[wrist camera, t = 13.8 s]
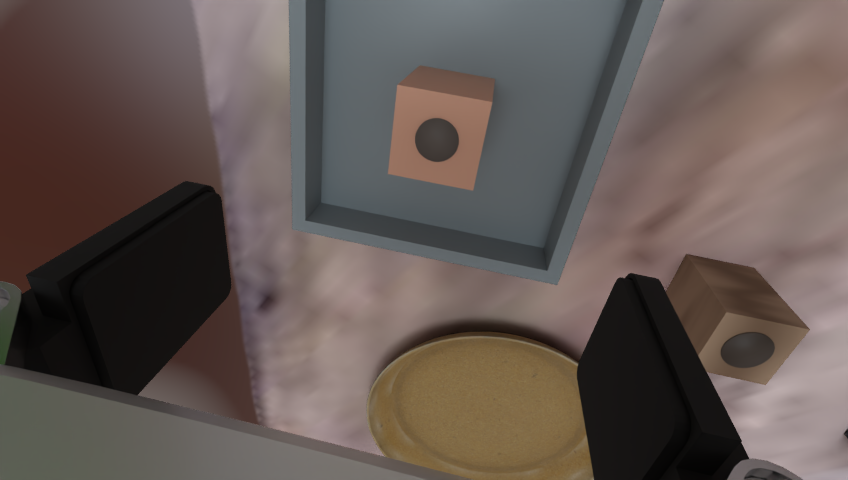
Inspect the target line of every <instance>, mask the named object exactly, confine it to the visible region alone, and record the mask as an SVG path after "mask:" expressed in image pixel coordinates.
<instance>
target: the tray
mask: <svg viewBox="0 0 848 480" xmlns="http://www.w3.org/2000/svg"><path fill="white" fill-rule="evenodd" d="M663 1H664V0H289V41H290V105H291V169H292V229H293V230H298V231H302V232H307V233H312V234H317V235H321V236H326V237H331V238H336V239H340V240H345V241H350V242H355V243H360V244H364V245H369V246H374V247H379V248H383V249H388V250H393V251H398V252H402V253H407V254H412V255H417V256H421V257H426V258H431V259H436V260H440V261H445V262H450V263H455V264H460V265H464V266H469V267H474V268H479V269H483V270H488V271H493V272H498V273H502V274H507V275H512V276H517V277H521V278H526V279H531V280H536V281H541V282H545V283H550V284H555V285H557V284H558V282H559V279H560V276H561V274H562V271H563V268H564V266H565V263H566V260H567V258H568V255H569V252H570V250H571V247H572V244H573V242H574V239H575V236H576V234H577V231H578V228H579V226H580V223H581V220H582V217H583V215H584V212H585V209H586V207H587V204H588V201H589V199H590V196H591V193H592V191H593V188H594V185H595V183H596V180H597V177H598V175H599V172H600V169H601V167H602V164H603V161H604V159H605V156H606V153H607V151H608V148H609V145H610V143H611V140H612V137H613V135H614V132H615V129H616V127H617V124H618V121H619V119H620V116H621V113H622V111H623V108H624V105H625V103H626V100H627V97H628V95H629V92H630V89H631V87H632V84H633V81H634V79H635V76H636V73H637V71H638V68H639V65H640V63H641V60H642V57H643V55H644V52H645V49H646V47H647V44H648V41H649V39H650V36H651V33H652V31H653V28H654V25H655V23H656V20H657V17H658V15H659V12H660V9H661V6H662V4H663ZM420 65H421V66H427V67H432V68H438V69H443V70H449V71H455V72H460V73H466V74H471V75H477V76H483V77H488V78H494V79H495V84H494V92H493V101H492V106H491V111H490V115H489V120H488V125H487V129H486V134H485V138H484V143H483V148H482V152H481V157H480V161H479V166H478V170H477V175H476V180H475V184H474V189H473V191H472V190H467V189H462V188H457V187H452V186H447V185H442V184H436V183H431V182H426V181H421V180H416V179H411V178H406V177H401V176H396V175H391V174H388V168H389V159H390V149H391V140H392V130H393V121H394V111H395V102H396V92H397V85H398V84H399V83H400V82H401V81H402V80H403V79H405V78H406V77H407V76H408V75H409V74H410V73H412V72H413V71H414V70H415V69H416V68H417V67H418V66H420Z"/></svg>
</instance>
